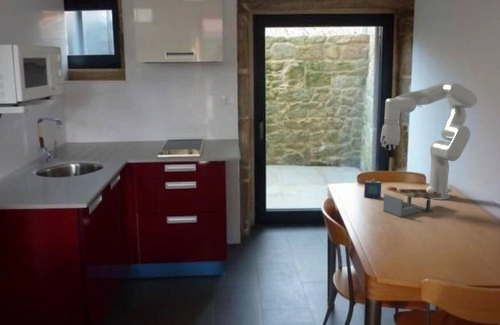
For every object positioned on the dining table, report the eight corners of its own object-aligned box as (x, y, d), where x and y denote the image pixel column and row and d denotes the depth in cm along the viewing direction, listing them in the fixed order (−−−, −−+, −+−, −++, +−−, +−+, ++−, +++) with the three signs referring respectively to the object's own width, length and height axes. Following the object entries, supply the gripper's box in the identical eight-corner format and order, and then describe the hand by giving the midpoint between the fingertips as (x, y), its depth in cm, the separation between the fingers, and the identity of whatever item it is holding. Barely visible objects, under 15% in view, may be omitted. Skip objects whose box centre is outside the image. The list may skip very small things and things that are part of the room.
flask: (380, 196, 293) (381, 178, 290) (381, 198, 290) (382, 179, 287) (363, 196, 293) (364, 178, 291) (364, 198, 290) (365, 179, 288)
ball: (428, 193, 276) (430, 186, 276) (434, 195, 273) (436, 188, 272) (423, 192, 274) (425, 185, 273) (430, 194, 270) (432, 186, 270)
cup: (399, 207, 272) (400, 191, 270) (416, 213, 262) (418, 196, 260) (383, 211, 266) (384, 194, 264) (400, 217, 256) (401, 199, 254)
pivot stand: (409, 204, 278) (410, 193, 276) (432, 211, 265) (433, 200, 264) (404, 205, 276) (405, 194, 274) (427, 212, 263) (427, 201, 262)
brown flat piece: (412, 190, 287) (412, 185, 286) (443, 199, 269) (444, 194, 269) (384, 190, 275) (385, 185, 275) (415, 199, 258) (416, 194, 258)
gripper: (396, 120, 279) (394, 154, 283) (375, 122, 271) (373, 157, 275) (407, 122, 273) (405, 156, 276) (386, 124, 265) (384, 159, 269)
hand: (389, 156), depth 276 cm, fingers closed
